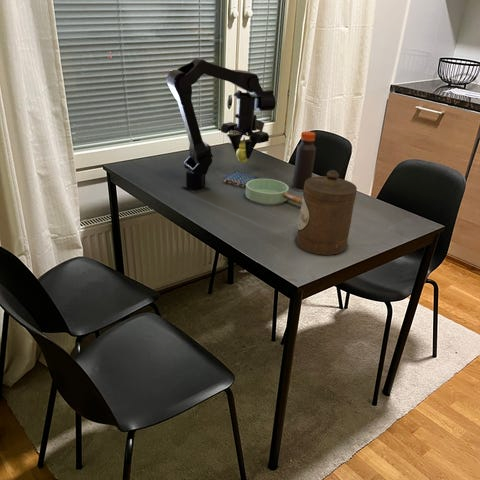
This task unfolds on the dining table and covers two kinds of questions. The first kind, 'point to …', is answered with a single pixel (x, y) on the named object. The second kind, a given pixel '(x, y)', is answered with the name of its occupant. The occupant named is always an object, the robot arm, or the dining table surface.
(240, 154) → the pear
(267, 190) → the pan
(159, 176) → the dining table surface
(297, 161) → the bottle
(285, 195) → the pan handle
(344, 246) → the wooden container
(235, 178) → the woven mat
